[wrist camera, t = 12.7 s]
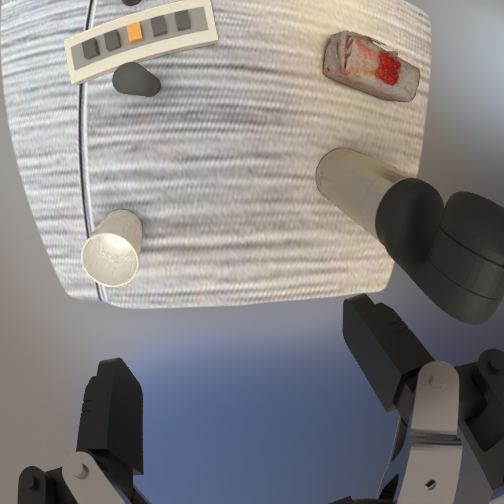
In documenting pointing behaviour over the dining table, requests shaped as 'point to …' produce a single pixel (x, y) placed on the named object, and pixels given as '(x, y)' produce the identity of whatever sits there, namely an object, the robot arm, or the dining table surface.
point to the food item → (370, 67)
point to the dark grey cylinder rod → (135, 80)
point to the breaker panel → (141, 50)
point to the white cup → (113, 249)
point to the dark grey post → (131, 2)
